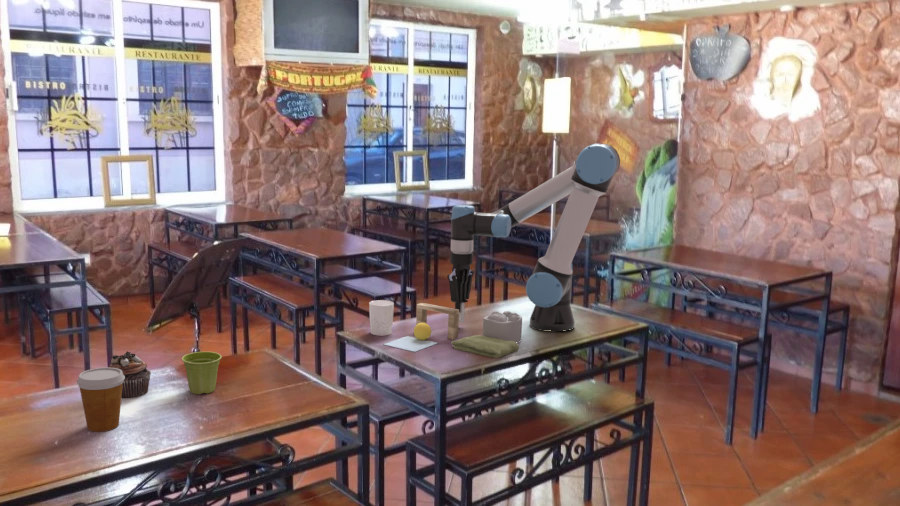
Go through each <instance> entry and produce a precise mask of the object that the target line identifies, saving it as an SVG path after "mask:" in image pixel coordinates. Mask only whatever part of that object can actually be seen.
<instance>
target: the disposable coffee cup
mask: <svg viewBox="0 0 900 506" xmlns="http://www.w3.org/2000/svg"><path fill="white" fill-rule="evenodd" d="M108 367H109V366H108ZM108 367H97V368H91V369H87V370H85V371H82V372H80V373H79V374H78V379H76V383H77V385H78V387H79V391H80V396H81V402H82V407H83V412H84V417H85V423H86V428H87V430H88V431H90V432H97V433H98V432H99V433H100V432H108V431H112V430H114V429H116V428H118V427H119V425H120V414H121V405H122V398H121V396H122V386H123V382H124V379H125V376H124V375H123V372H122V370H120V369H117V368H108Z"/></svg>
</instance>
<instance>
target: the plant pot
mask: <svg viewBox="0 0 900 506" xmlns="http://www.w3.org/2000/svg"><path fill="white" fill-rule="evenodd" d="M222 358H223V357H222V354H220V353H218V352H216V351H215V352H214V351H195V352H191V353H190V352H189V353H187V354H184V355H183V356H182V357H181V361H182V362H183V364H184V367H185V371H186V377H187V383H188V390H189V392H190V393H191V394H194V395H202V394H211V393H212V392H214V391H215V390H216V386H217V378H218V377H217V376H218V370H219V365H220V361H221V359H222Z"/></svg>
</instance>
